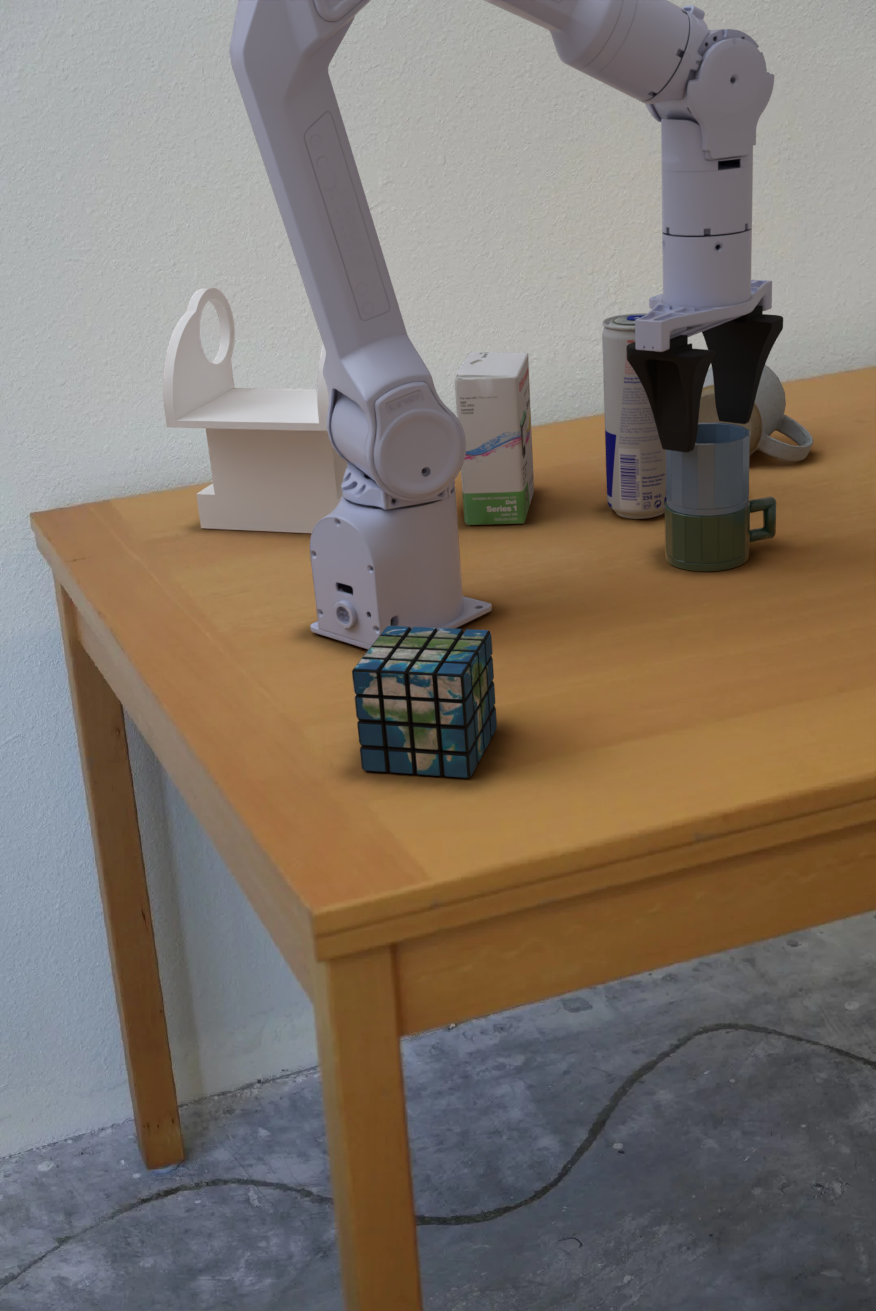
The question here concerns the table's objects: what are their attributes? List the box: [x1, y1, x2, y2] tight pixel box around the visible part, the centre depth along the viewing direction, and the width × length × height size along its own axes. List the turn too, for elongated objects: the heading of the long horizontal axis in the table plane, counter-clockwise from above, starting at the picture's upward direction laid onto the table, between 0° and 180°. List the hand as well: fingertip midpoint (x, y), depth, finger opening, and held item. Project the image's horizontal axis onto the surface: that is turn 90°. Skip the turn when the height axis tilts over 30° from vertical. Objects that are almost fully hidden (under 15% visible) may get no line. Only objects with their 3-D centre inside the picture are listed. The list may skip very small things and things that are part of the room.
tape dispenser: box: [162, 287, 348, 534], centre depth 116 cm, size 14×13×18 cm
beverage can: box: [601, 312, 667, 520], centre depth 112 cm, size 5×5×15 cm
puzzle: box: [351, 626, 498, 779], centre depth 79 cm, size 6×6×6 cm
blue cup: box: [666, 423, 750, 516], centre depth 102 cm, size 6×6×5 cm
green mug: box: [664, 496, 777, 572], centre depth 104 cm, size 8×6×4 cm
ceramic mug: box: [698, 364, 814, 463], centre depth 125 cm, size 11×8×8 cm
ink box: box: [454, 351, 535, 526], centre depth 115 cm, size 8×5×12 cm, turn 171°
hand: (706, 435), depth 101 cm, fingers open, 7 cm apart
